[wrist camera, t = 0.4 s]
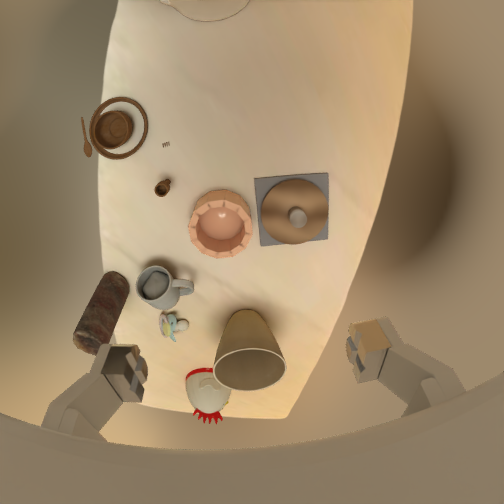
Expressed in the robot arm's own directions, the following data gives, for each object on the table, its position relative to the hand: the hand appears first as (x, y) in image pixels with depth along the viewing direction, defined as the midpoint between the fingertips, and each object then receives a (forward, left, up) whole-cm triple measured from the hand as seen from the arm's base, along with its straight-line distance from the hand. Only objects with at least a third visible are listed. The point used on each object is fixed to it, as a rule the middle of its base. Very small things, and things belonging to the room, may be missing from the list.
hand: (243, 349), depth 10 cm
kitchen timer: (+64, -16, -45) cm, 80 cm away
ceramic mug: (+25, -17, -45) cm, 54 cm away
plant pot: (+40, -2, -45) cm, 60 cm away
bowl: (+13, -4, -45) cm, 47 cm away
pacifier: (+38, -22, -46) cm, 63 cm away
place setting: (-4, -21, -46) cm, 51 cm away
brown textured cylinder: (+26, -31, -45) cm, 61 cm away
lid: (+13, +10, -45) cm, 47 cm away
